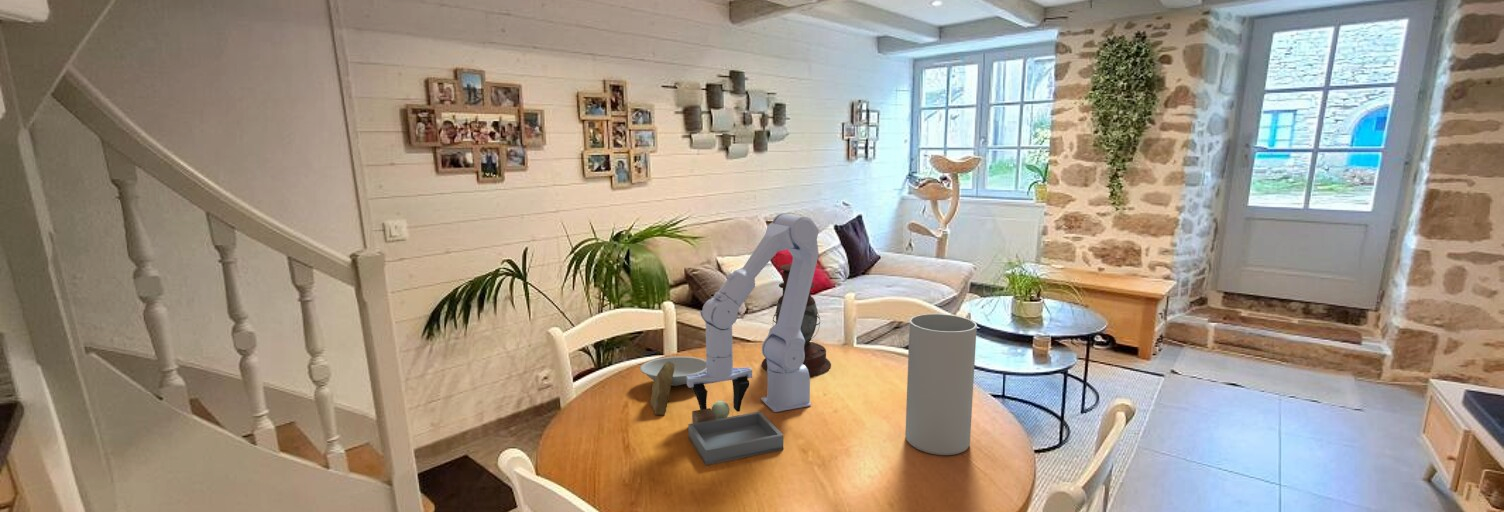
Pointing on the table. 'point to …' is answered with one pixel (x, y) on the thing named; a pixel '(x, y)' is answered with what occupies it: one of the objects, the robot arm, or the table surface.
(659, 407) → the rock
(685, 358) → the dish
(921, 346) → the cylinder vase
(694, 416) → the walnut cube
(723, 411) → the green ball
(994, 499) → the table surface
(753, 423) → the serving tray
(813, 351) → the lantern
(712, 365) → the robot arm
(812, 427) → the table surface
